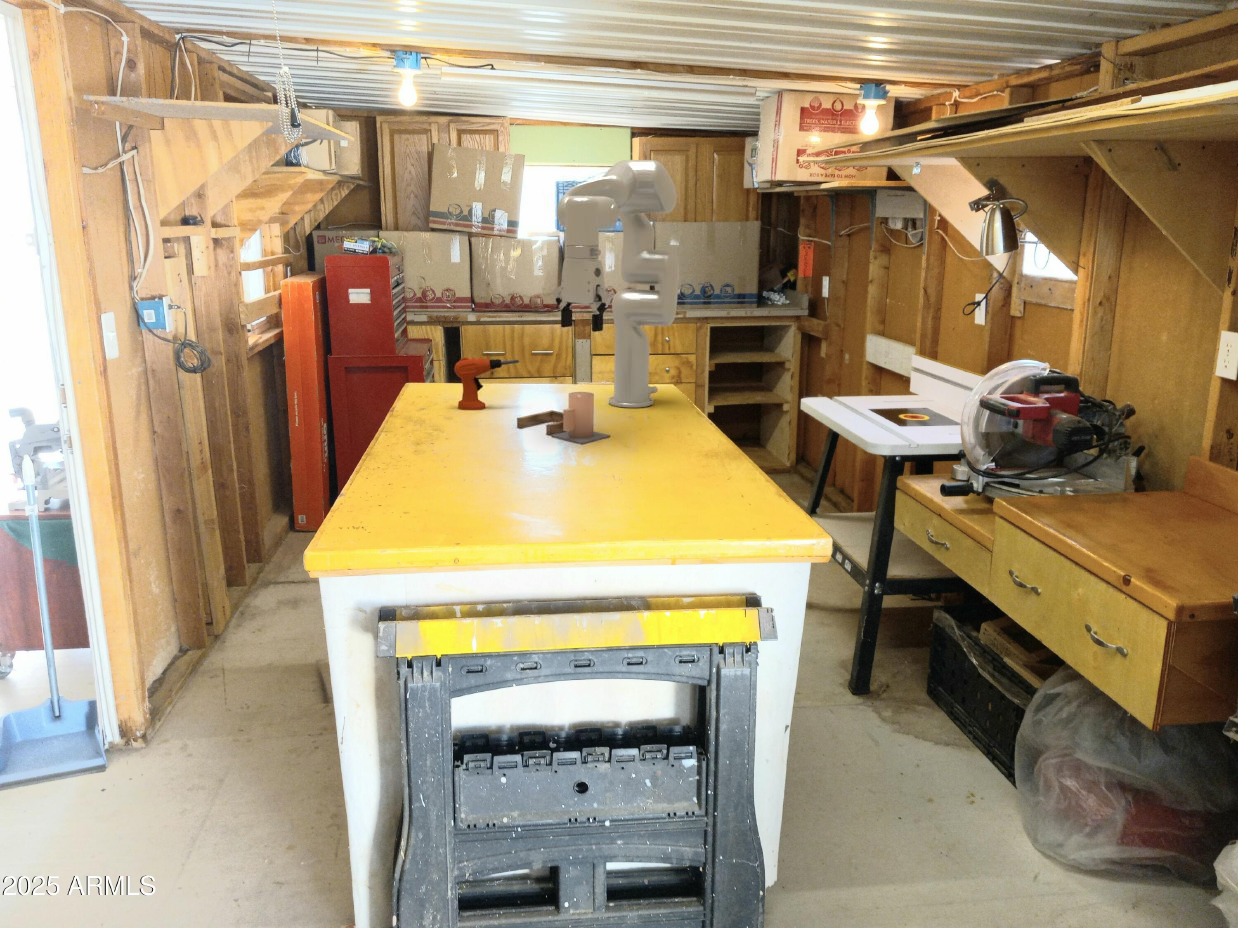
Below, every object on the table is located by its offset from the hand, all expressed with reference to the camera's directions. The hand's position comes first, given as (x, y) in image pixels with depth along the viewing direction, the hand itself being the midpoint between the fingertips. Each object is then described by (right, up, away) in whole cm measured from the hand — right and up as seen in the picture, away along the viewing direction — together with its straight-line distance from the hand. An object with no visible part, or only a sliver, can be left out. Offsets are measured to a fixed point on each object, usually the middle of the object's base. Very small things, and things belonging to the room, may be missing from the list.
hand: (581, 329), depth 214 cm
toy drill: (-27, -16, +36) cm, 48 cm away
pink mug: (-1, -25, +6) cm, 25 cm away
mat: (0, -25, +7) cm, 26 cm away
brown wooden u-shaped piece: (-8, -22, +16) cm, 29 cm away
